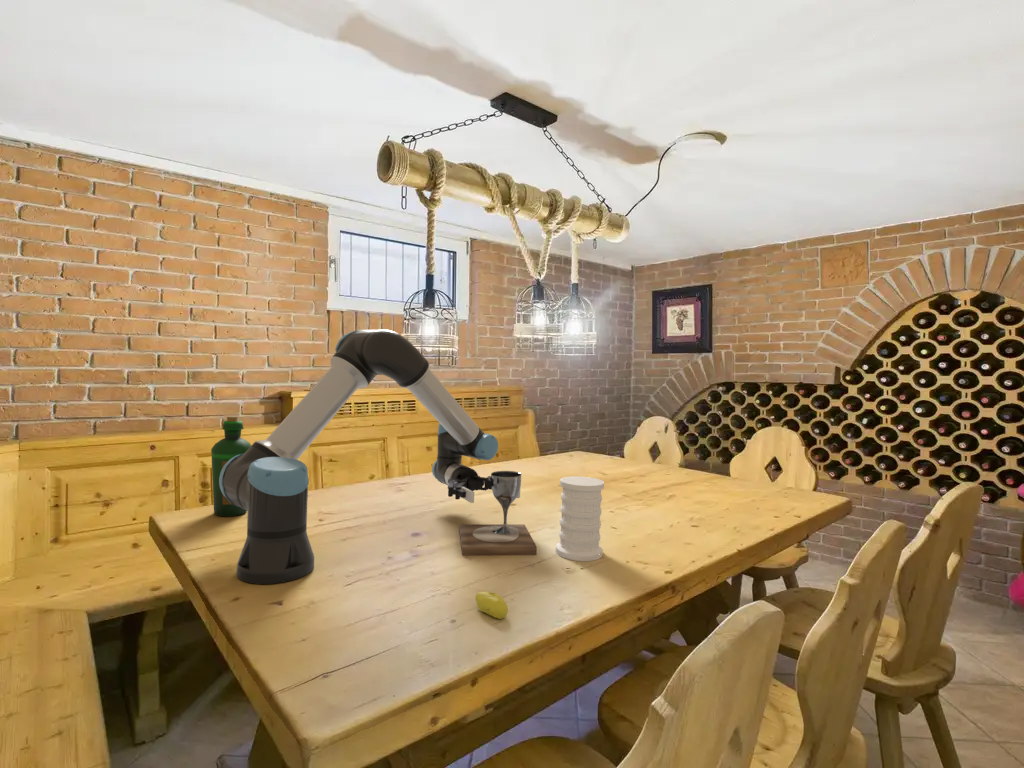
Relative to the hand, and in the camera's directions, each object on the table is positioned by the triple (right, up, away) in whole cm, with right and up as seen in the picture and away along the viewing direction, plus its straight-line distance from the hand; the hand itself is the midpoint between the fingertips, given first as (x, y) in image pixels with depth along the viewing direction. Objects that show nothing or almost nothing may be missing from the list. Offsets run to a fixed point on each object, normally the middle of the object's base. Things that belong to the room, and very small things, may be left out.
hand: (496, 495), depth 139 cm
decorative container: (+21, -13, -6) cm, 25 cm away
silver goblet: (+2, -10, +2) cm, 10 cm away
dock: (0, -12, -1) cm, 12 cm away
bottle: (-77, -9, +16) cm, 79 cm away
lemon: (0, -14, -40) cm, 42 cm away
